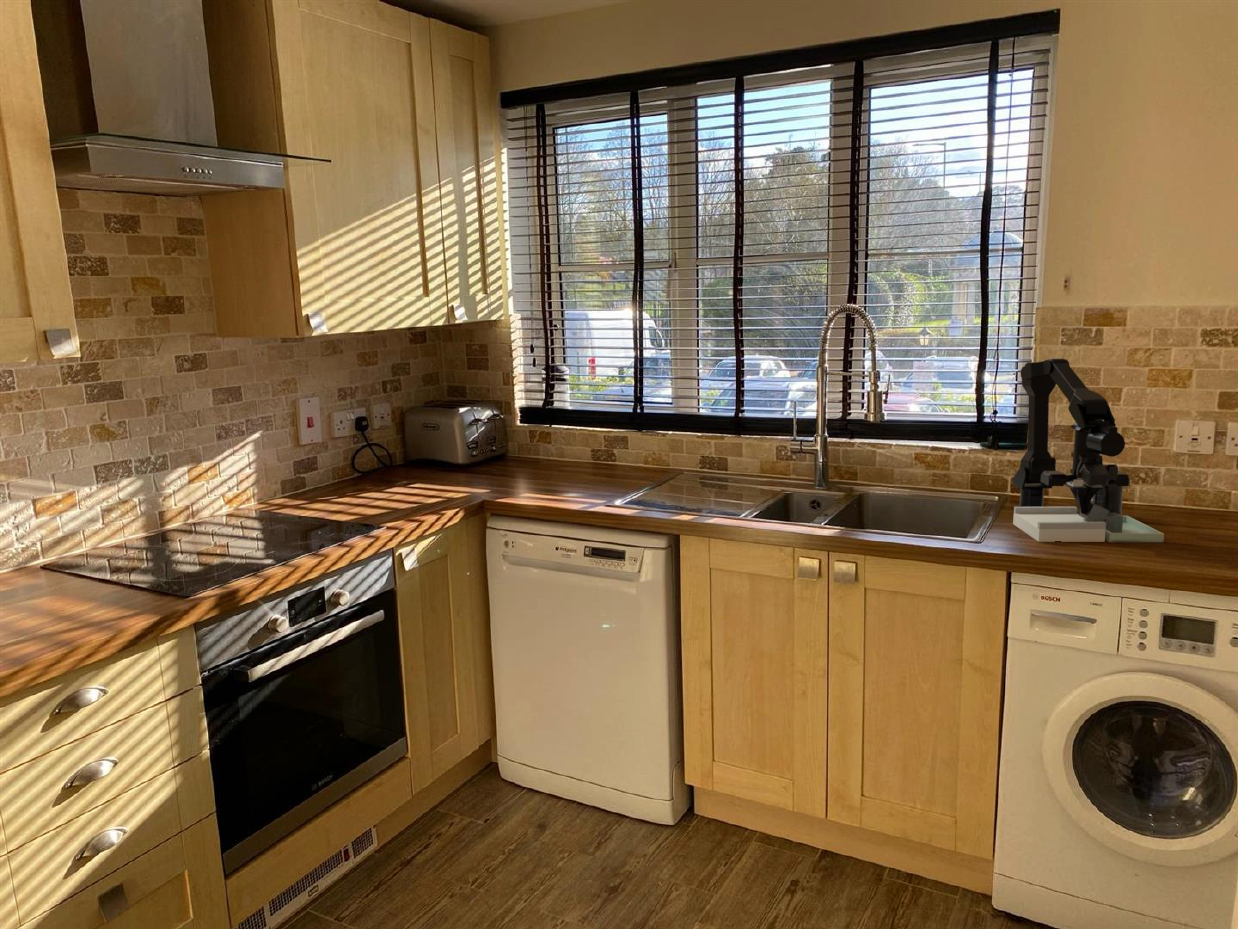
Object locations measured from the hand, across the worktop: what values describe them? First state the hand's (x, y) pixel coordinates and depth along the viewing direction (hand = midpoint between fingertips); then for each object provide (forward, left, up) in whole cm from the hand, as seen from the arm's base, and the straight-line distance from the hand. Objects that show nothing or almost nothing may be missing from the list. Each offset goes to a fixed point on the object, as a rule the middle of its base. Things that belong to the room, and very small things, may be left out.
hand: (1082, 513), depth 221 cm
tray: (0, +9, -5) cm, 10 cm away
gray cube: (0, +5, -2) cm, 5 cm away
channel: (0, -6, -5) cm, 7 cm away
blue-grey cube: (0, +2, -2) cm, 3 cm away
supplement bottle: (-16, +13, -5) cm, 21 cm away
